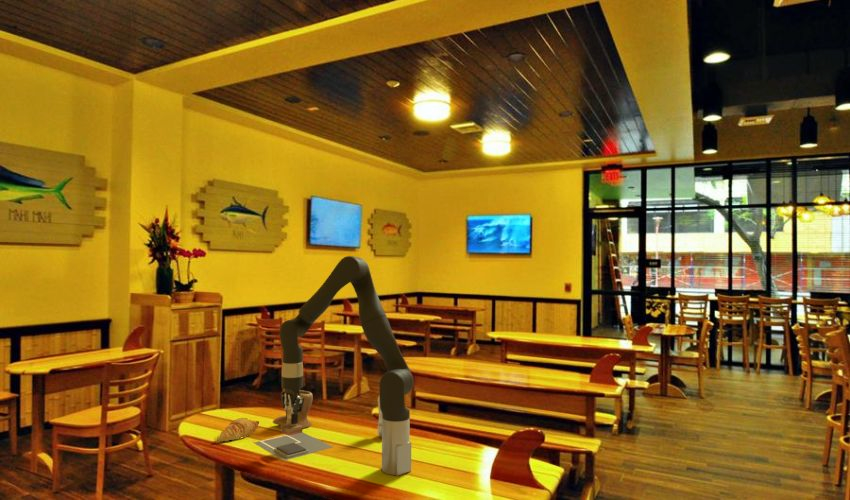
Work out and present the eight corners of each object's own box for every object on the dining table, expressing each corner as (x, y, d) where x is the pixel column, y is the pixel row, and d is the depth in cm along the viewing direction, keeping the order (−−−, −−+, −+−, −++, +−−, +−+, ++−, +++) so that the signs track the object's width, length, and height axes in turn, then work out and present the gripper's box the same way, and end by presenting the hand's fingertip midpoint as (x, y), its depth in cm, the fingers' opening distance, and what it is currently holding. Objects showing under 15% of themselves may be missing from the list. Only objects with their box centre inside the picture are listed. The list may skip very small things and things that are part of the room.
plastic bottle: (393, 439, 202) (393, 388, 202) (376, 439, 202) (376, 388, 202) (394, 434, 208) (395, 384, 209) (377, 434, 208) (378, 384, 209)
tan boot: (318, 425, 219) (319, 389, 220) (298, 433, 209) (299, 395, 209) (291, 419, 227) (292, 385, 227) (271, 427, 216) (272, 391, 217)
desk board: (333, 449, 191) (333, 443, 191) (283, 463, 177) (283, 456, 177) (300, 433, 208) (300, 428, 209) (253, 444, 195) (253, 439, 195)
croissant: (223, 454, 195) (230, 437, 193) (206, 438, 198) (213, 421, 197) (262, 436, 214) (269, 420, 212) (246, 422, 218) (253, 406, 216)
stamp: (302, 432, 186) (302, 403, 186) (288, 435, 182) (288, 406, 182) (294, 428, 190) (295, 400, 190) (280, 431, 186) (281, 402, 187)
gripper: (311, 376, 184) (310, 425, 184) (292, 370, 194) (291, 416, 194) (292, 379, 179) (291, 429, 178) (273, 372, 189) (272, 420, 189)
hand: (291, 422), depth 186 cm, fingers closed on stamp, 3 cm apart
